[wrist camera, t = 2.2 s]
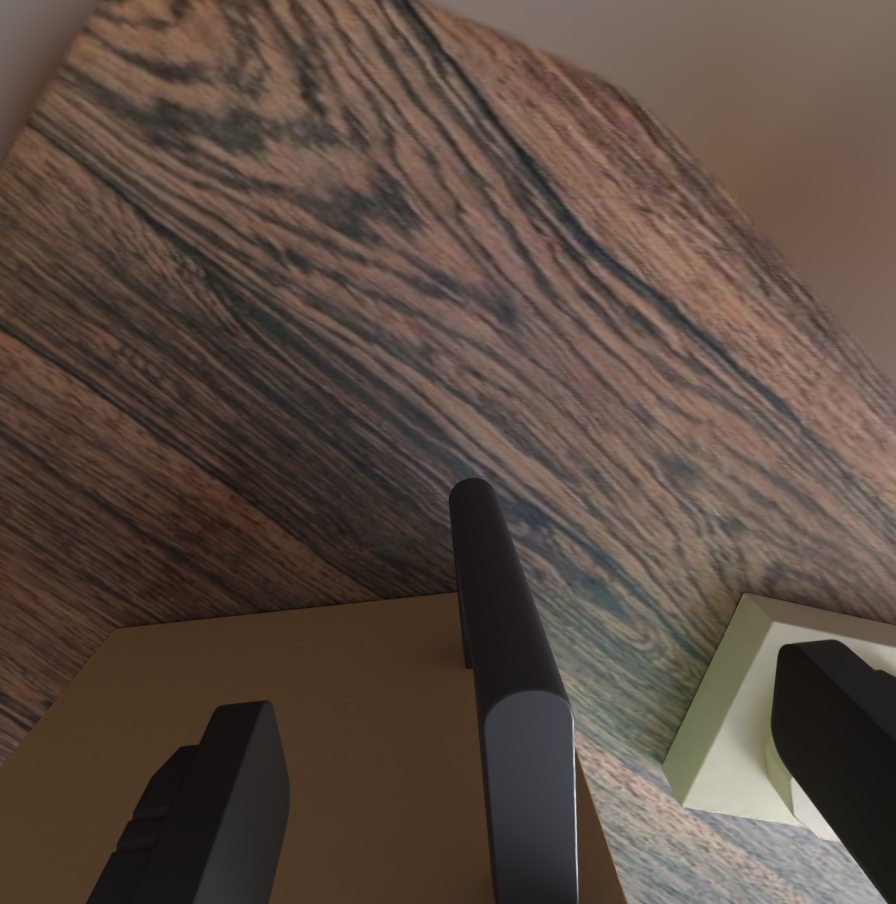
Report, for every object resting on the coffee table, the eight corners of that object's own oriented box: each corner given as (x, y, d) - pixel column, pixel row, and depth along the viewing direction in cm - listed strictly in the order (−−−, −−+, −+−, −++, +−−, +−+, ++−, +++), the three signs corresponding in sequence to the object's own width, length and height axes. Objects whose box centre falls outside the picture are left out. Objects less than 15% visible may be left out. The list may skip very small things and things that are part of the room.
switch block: (743, 591, 25) (802, 649, 21) (976, 642, 27) (1069, 705, 23) (660, 767, 28) (698, 846, 24) (874, 804, 29) (942, 883, 26)
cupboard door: (69, 486, 22) (-847, 1073, 6) (514, 441, 22) (760, 878, 6) (120, 648, 24) (-446, 1384, 8) (523, 604, 25) (720, 1225, 9)
